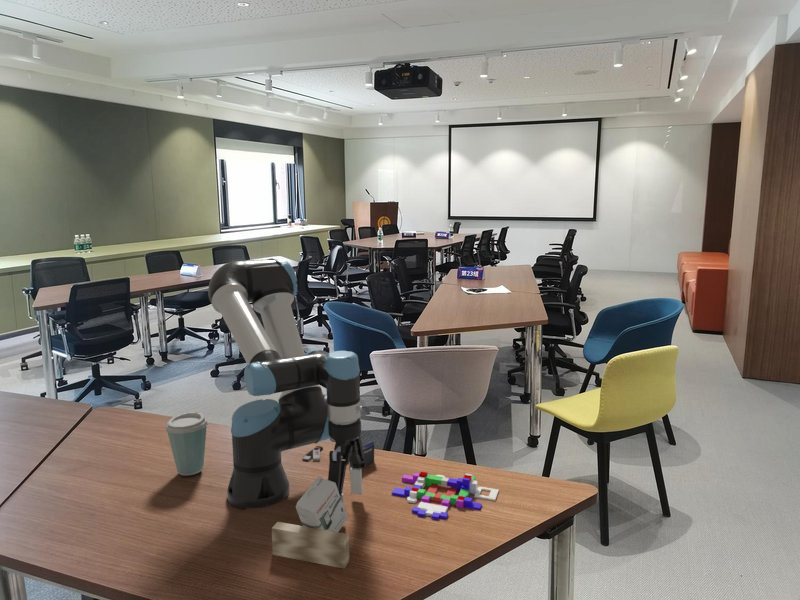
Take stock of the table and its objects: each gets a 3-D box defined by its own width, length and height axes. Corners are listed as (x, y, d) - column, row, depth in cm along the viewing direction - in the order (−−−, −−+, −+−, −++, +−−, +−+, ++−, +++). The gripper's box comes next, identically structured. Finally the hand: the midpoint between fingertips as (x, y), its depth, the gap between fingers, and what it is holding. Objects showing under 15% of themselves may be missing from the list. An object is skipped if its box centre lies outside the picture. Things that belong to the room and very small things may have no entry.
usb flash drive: (316, 448, 169) (316, 445, 169) (332, 451, 167) (332, 448, 167) (301, 460, 161) (301, 457, 161) (317, 463, 159) (317, 460, 159)
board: (272, 554, 117) (271, 528, 116) (278, 547, 120) (277, 521, 119) (344, 568, 113) (344, 541, 112) (349, 561, 115) (349, 534, 114)
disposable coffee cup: (192, 482, 147) (188, 427, 145) (159, 475, 151) (155, 422, 149) (218, 465, 157) (215, 413, 155) (186, 459, 161) (183, 408, 158)
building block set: (381, 510, 136) (381, 492, 135) (409, 472, 155) (409, 457, 154) (484, 530, 128) (485, 512, 127) (500, 488, 147) (501, 472, 146)
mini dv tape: (353, 472, 154) (353, 451, 153) (349, 470, 155) (349, 450, 154) (374, 462, 160) (374, 442, 159) (370, 460, 161) (370, 440, 160)
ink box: (327, 550, 119) (312, 514, 113) (308, 542, 122) (293, 506, 116) (348, 517, 125) (336, 481, 119) (330, 511, 128) (317, 475, 122)
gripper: (340, 441, 118) (345, 537, 122) (375, 402, 140) (378, 483, 144) (307, 438, 120) (312, 532, 124) (347, 399, 142) (350, 480, 146)
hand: (348, 506), depth 134 cm, fingers open, 11 cm apart
